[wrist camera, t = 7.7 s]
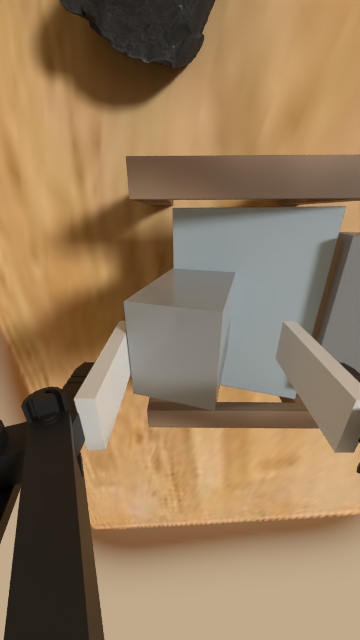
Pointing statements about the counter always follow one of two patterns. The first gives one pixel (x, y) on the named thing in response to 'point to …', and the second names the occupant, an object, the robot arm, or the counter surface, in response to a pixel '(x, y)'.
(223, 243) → the trapdoor
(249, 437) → the counter surface
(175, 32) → the rock
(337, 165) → the trapdoor frame
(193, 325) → the grey rectangular block
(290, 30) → the counter surface
